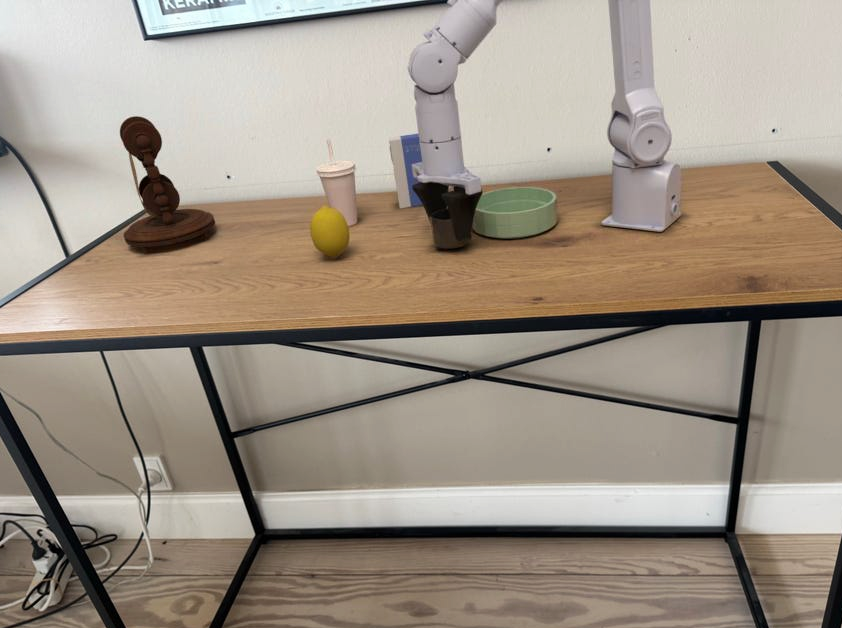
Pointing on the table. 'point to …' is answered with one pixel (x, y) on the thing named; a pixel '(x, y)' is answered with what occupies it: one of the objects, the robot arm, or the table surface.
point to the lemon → (329, 231)
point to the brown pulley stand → (158, 194)
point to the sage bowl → (515, 212)
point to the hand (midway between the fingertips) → (451, 233)
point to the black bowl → (444, 230)
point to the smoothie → (340, 186)
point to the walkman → (405, 167)
